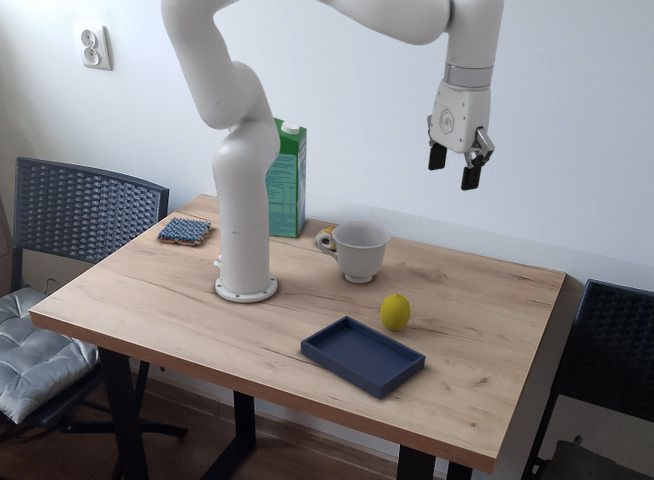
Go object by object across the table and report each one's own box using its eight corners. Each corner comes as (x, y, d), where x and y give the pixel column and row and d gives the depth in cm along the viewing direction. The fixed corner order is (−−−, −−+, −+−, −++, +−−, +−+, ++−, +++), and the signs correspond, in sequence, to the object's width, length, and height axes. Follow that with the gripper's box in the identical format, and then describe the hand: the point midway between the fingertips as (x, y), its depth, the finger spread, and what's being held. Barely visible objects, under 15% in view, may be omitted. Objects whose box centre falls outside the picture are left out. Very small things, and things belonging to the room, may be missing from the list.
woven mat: (214, 228, 166) (214, 220, 165) (198, 248, 157) (198, 240, 156) (173, 223, 168) (172, 215, 167) (155, 242, 159) (154, 234, 158)
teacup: (317, 261, 153) (318, 219, 147) (385, 264, 153) (389, 221, 147) (315, 289, 143) (317, 245, 138) (388, 292, 143) (393, 248, 137)
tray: (300, 353, 125) (300, 341, 124) (345, 326, 132) (346, 315, 131) (379, 399, 115) (381, 386, 113) (424, 368, 122) (425, 356, 121)
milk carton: (297, 238, 163) (298, 130, 148) (259, 233, 164) (257, 126, 150) (305, 221, 170) (307, 117, 155) (268, 217, 171) (267, 114, 157)
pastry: (341, 231, 166) (342, 216, 164) (362, 241, 162) (363, 226, 160) (312, 243, 160) (313, 228, 158) (333, 254, 156) (333, 238, 154)
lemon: (374, 334, 130) (378, 298, 126) (383, 320, 135) (387, 283, 130) (403, 341, 129) (408, 304, 124) (411, 326, 133) (416, 290, 128)
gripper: (417, 64, 116) (406, 164, 126) (482, 91, 103) (464, 201, 113) (455, 60, 119) (441, 159, 128) (522, 87, 106) (501, 194, 116)
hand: (452, 178), depth 121 cm, fingers open, 9 cm apart
